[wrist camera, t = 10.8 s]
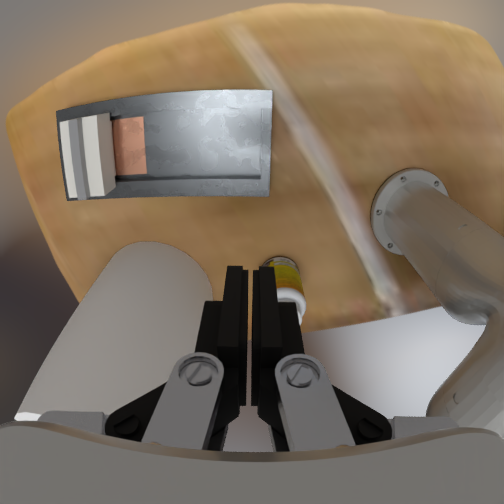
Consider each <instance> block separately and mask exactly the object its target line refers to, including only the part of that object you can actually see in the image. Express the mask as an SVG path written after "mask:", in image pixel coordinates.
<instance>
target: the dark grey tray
mask: <svg viewBox="0 0 504 504" xmlns="http://www.w3.org/2000/svg"><path fill="white" fill-rule="evenodd" d="M272 91H273V90H203V91H184V92H171V93H160V94H151V95H142V96H134V97H127V98H120V99H113V100H107V101H102V102H96V103H91V104H86V105H81V106H76V107H71V108H67V109H63V110H58V111H56V117H57V130H58V141H59V150H60V159H61V166H62V173H63V180H64V186H65V192H66V198H67V201H74V200H78V197H77V198H69V194H68V188H67V182H66V175H65V168H64V160H63V152H62V143H61V133H60V122H63V121H67V120H71V119H76V118H81V117H87V116H92V115H98V114H104V113H109V114H110V121H112V136H113V148H114V159H115V169H116V176H115V184H116V187H115V188H114V189H113V190H111V191H110V192H109V193H108V194H106V195H105V196H92V197H89V198H88V199H87V200H90V199H109V198H132V197H168V196H259V197H269V184H270V157H271V126H272Z"/></svg>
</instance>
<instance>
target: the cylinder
mask: <svg viewBox="0 0 504 504" xmlns="http://www.w3.org/2000/svg"><path fill="white" fill-rule="evenodd" d="M205 301H213V295H212V287H211V284H210V282H209V279H208V277H207V275H206V273H205V272H204V271H203V269H202V268H201V267H200V265H199V264H198V263H197V262H196V261H195V260H194V259H192V258H191V257H190V256H189V255H187V254H186V253H185V252H183V251H181V250H179V249H177V248H175V247H173V246H171V245H167V244H163V243H159V242H137V243H133V244H130V245H127V246H125V247H124V248H122V249H121V250H119V251H118V252H116V253H115V255H114V256H113V257H112V259H111V260H110V261H109V263H108V264H107V265H106V267H105V268H104V270H103V271H102V272H101V274H100V275H99V277H98V278H97V279H96V281H95V282H94V284H93V285H92V287H91V288H90V289H89V291H88V292H87V294H86V295H85V297H84V298H83V300H82V301H81V303H80V304H79V306H78V307H77V309H76V310H75V312H74V313H73V315H72V316H71V318H70V320H69V321H68V323H67V325H66V326H65V327H64V329H63V331H62V332H61V334H60V336H59V337H58V339H57V341H56V342H55V344H54V345H53V347H52V349H51V351H50V352H49V354H48V356H47V357H46V359H45V361H44V363H43V364H42V366H41V368H40V370H39V372H38V374H37V375H36V377H35V379H34V381H33V383H32V385H31V386H30V388H29V390H28V392H27V394H26V396H25V398H24V400H23V402H22V404H21V406H20V408H19V410H18V412H17V414H16V416H15V419H16V420H17V421H37V420H38V418H39V417H40V416H41V415H42V414H43V413H45V412H47V411H53V410H55V411H80V412H103V413H104V414H105V415H110V414H111V413H113V412H114V411H115V410H117V409H119V408H121V407H123V406H124V405H126V404H128V403H130V402H132V401H134V400H135V399H137V398H139V397H141V396H143V395H144V394H146V393H148V392H150V391H151V390H153V389H155V388H157V387H159V386H160V385H162V384H164V383H165V382H167V381H168V378H169V376H170V374H171V372H172V369H173V367H174V365H175V364H176V362H177V361H178V360H179V359H180V358H182V357H183V356H185V355H188V354H190V353H194V352H195V347H196V342H197V337H198V332H199V327H200V322H201V317H202V312H203V307H204V303H205Z"/></svg>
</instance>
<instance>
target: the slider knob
mask: <svg viewBox="0 0 504 504" xmlns="http://www.w3.org/2000/svg"><path fill="white" fill-rule="evenodd" d="M60 133H61V143H62V152H63V160H64V168H65V175H66V182H67V188H68V194H69V198H77V197H78V200H87V199H88V198H89V197H92V196H105V195H106V194H108V193H109V192H110V191H111V190H113V189H114V188H115V187H116V184H115V176H116V169H115V159H114V148H113V136H112V121H110V114H109V113H104V114H98V115H92V116H87V117H81V118H76V119H71V120H67V121H63V122H60Z"/></svg>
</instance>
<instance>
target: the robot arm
mask: <svg viewBox="0 0 504 504" xmlns="http://www.w3.org/2000/svg"><path fill="white" fill-rule="evenodd" d="M401 177H402V178H401ZM377 210H378V211H377ZM371 225H372V230H373V232H374V235H375V237H376V238H377V240H378V241H379V243H380V244H381V245H382V246H383V247H384V248H385V249H386V250H388V251H390V252H392V253H394V254H398V255H404V256H405V257H406V258H407V260H408V261H409V262H410V264H411V265H412V266H413V267H414V269H415V270H416V271H417V273H418V274H419V275H420V276H421V278H422V279H423V280H424V282H425V283H426V284H427V286H428V287H429V289H430V290H431V291H432V293H433V294H434V295H435V297H436V298H437V300H438V301H439V302H440V304H441V305H442V306H443V308H444V309H445V310H446V312H447V313H448V314H449V315H450V316H451V317H453V318H454V319H456V320H458V321H459V322H462V323H465V324H471V325H486V327H485V330H484V332H483V334H482V335H481V337H480V338H479V340H478V341H477V342H476V344H475V345H474V347H473V348H472V350H471V351H470V352H469V353H468V355H467V356H466V357H465V358H464V360H463V361H462V362H461V363H460V364H459V365H458V367H457V368H456V369H455V370H454V371H453V372H452V374H451V375H450V376H449V377H448V378H447V379H446V380H445V382H444V383H443V384H442V385H441V386H440V387H439V389H438V390H437V391H436V392H435V394H434V395H433V397H432V398H431V400H430V402H429V405H428V407H427V411H426V417H400V416H395V417H394V418H393V419H387V418H386V417H384V416H383V415H381V414H380V413H378V412H377V411H375V410H373V409H371V408H370V407H368V406H366V405H365V404H363V403H361V402H360V401H358V400H356V399H355V398H353V397H351V396H350V395H348V394H346V393H345V392H343V391H341V390H340V389H338V388H337V387H335V386H333V385H332V384H331V382H330V380H329V378H328V375H327V373H326V370H325V368H324V366H323V365H322V363H321V362H319V361H318V360H317V359H316V358H314V357H312V356H309V355H305V353H304V348H303V341H302V335H301V329H300V323H299V318H298V312H297V307H296V303H295V302H278V297H277V287H276V278H275V269H274V267H272V266H259V270H253V299H252V370H251V375H252V376H251V379H252V380H251V406H258V415H259V417H260V418H261V419H262V420H263V421H265V422H266V423H267V424H268V429H269V434H270V438H271V443H272V447H273V452H225V451H223V447H224V443H225V439H226V435H227V431H228V424H229V423H230V422H231V421H233V420H234V419H235V418H237V417H238V415H239V412H240V410H239V409H240V406H246V383H247V336H248V270H243V266H227V273H226V280H225V288H224V295H223V301H205V303H204V307H203V312H202V317H201V322H200V327H199V332H198V337H197V342H196V347H195V352H194V353H190V354H188V355H185V356H183V357H182V358H180V359H179V360H178V361H177V362H176V364H175V365H174V367H173V369H172V372H171V374H170V376H169V378H168V381H167V382H165V383H164V384H162V385H160V386H159V387H157V388H155V389H153V390H151V391H150V392H148V393H146V394H144V395H143V396H141V397H139V398H137V399H135V400H134V401H132V402H130V403H128V404H126V405H124V406H123V407H121V408H119V409H117V410H115V411H114V412H113V413H111V414H110V415H105V414H104V413H103V412H80V411H55V410H53V411H47V412H45V413H43V414H42V415H41V416H40V417H39V418H38V420H37V421H14V422H8V423H5V424H2V425H0V504H504V237H503V236H502V235H500V234H499V233H498V232H496V231H495V230H493V229H492V228H491V227H490V226H488V225H487V224H486V223H484V222H483V221H482V220H480V219H479V218H478V217H476V216H475V215H473V214H472V213H471V212H469V211H468V210H466V209H465V208H464V207H462V206H461V205H459V204H458V203H456V202H455V201H453V200H452V199H451V198H449V197H448V193H447V190H446V188H445V186H444V184H443V183H442V182H441V180H440V179H439V178H438V177H437V176H435V175H434V174H432V173H430V172H428V171H426V170H423V169H418V168H412V169H406V170H402V171H400V172H398V173H396V174H394V175H393V176H391V177H390V178H389V179H388V180H387V181H386V182H385V183H384V184H383V185H382V186H381V188H380V189H379V191H378V193H377V194H376V196H375V199H374V201H373V205H372V209H371Z"/></svg>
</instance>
